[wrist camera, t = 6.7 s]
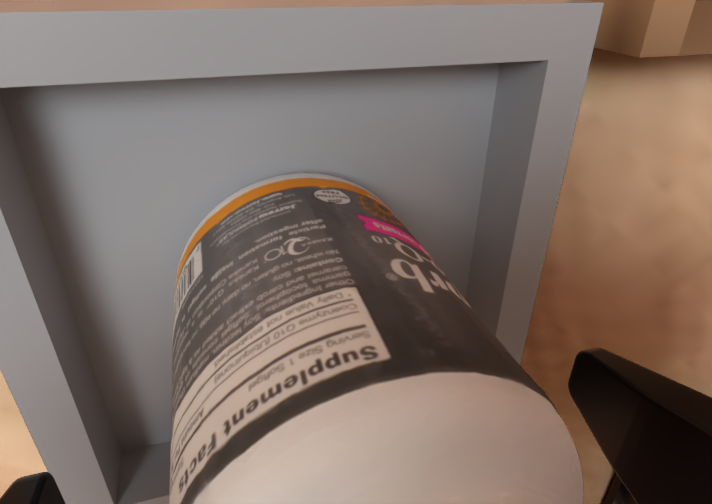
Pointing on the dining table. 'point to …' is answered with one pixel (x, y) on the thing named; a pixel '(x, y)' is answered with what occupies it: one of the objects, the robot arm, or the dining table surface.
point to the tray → (251, 176)
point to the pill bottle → (344, 366)
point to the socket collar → (655, 27)
